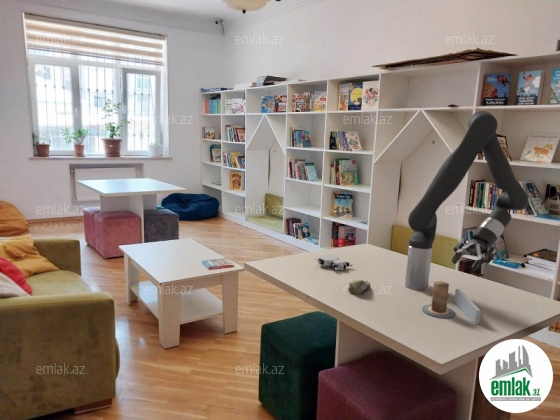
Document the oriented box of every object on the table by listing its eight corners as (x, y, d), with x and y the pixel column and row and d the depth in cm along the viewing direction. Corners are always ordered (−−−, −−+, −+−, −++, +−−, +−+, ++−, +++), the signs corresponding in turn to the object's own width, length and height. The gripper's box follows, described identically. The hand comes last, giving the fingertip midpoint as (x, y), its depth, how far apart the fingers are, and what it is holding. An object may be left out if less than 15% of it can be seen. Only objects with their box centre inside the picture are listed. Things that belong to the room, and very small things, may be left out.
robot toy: (353, 271, 198) (330, 260, 209) (355, 261, 197) (331, 252, 208) (335, 275, 191) (312, 264, 202) (336, 266, 190) (313, 255, 201)
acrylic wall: (454, 301, 163) (455, 288, 162) (457, 301, 163) (458, 289, 162) (475, 324, 143) (476, 310, 142) (478, 324, 143) (480, 310, 142)
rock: (367, 289, 176) (344, 284, 176) (371, 274, 175) (347, 270, 174) (373, 299, 166) (349, 295, 165) (377, 284, 164) (352, 280, 164)
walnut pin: (429, 306, 155) (432, 280, 153) (443, 307, 154) (446, 281, 153) (433, 312, 150) (436, 285, 148) (448, 313, 150) (450, 286, 148)
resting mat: (418, 304, 158) (418, 303, 158) (448, 306, 157) (448, 304, 157) (427, 317, 147) (427, 315, 147) (459, 319, 147) (459, 317, 146)
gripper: (467, 222, 162) (442, 254, 159) (501, 230, 149) (475, 265, 146) (475, 234, 165) (451, 266, 162) (509, 244, 152) (484, 278, 149)
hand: (462, 266), depth 154 cm, fingers open, 8 cm apart
